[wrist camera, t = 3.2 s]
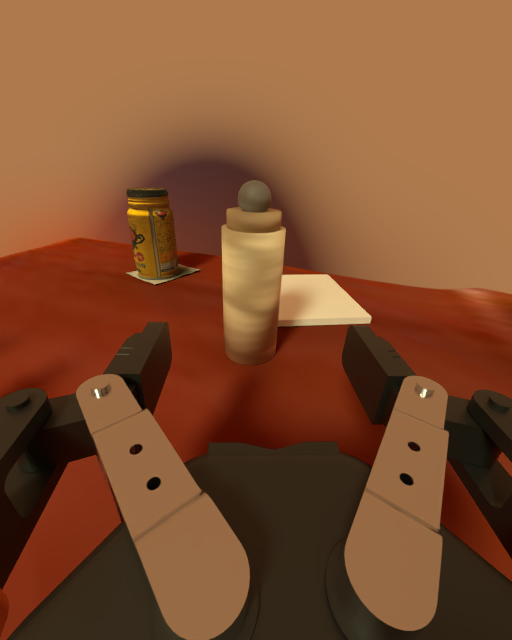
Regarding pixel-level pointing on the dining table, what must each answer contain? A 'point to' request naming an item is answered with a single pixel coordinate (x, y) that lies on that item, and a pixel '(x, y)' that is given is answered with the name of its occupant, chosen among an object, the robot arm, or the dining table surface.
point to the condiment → (153, 236)
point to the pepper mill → (252, 276)
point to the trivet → (317, 302)
